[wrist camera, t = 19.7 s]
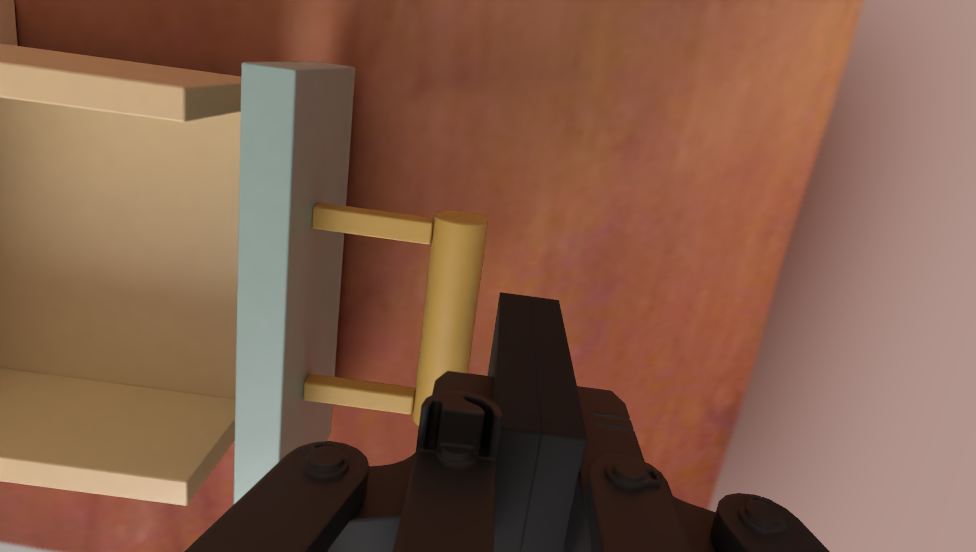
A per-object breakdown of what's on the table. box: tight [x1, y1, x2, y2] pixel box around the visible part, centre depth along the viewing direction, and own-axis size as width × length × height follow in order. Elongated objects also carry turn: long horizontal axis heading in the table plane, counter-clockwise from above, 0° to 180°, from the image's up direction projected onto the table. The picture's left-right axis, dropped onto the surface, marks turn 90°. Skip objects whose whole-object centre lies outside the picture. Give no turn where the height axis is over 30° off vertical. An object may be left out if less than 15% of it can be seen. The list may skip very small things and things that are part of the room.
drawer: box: [0, 44, 488, 506], centre depth 19 cm, size 19×12×6 cm, turn 83°
